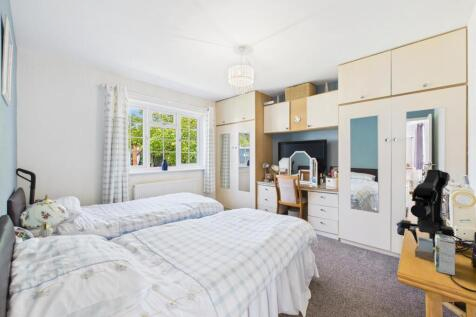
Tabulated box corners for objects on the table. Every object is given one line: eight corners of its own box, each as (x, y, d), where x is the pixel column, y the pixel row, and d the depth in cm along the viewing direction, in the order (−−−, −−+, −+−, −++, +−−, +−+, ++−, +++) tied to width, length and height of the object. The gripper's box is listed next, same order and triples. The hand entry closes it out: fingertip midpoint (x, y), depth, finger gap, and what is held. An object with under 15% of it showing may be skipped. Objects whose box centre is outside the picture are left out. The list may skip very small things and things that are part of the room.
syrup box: (434, 265, 92) (434, 233, 92) (453, 269, 88) (453, 236, 88) (435, 271, 88) (435, 237, 87) (456, 276, 84) (455, 240, 83)
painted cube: (418, 246, 103) (418, 236, 103) (432, 249, 100) (432, 239, 100) (418, 250, 99) (418, 240, 99) (433, 253, 96) (432, 242, 96)
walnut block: (417, 252, 105) (417, 245, 104) (436, 257, 99) (436, 249, 99) (415, 257, 100) (414, 250, 100) (435, 262, 95) (434, 255, 95)
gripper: (399, 214, 99) (399, 246, 100) (455, 221, 87) (456, 258, 87) (400, 208, 107) (401, 238, 108) (452, 214, 95) (452, 248, 96)
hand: (425, 245), depth 99 cm, fingers open, 6 cm apart
